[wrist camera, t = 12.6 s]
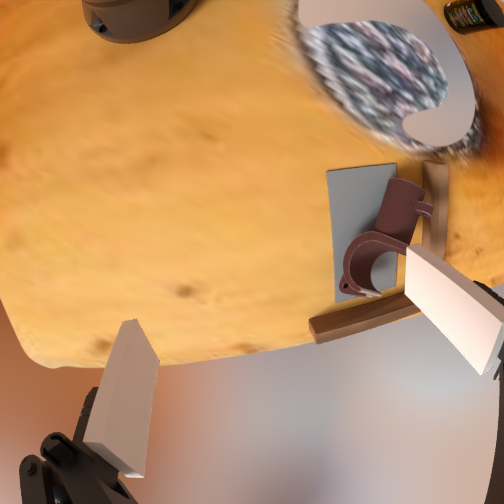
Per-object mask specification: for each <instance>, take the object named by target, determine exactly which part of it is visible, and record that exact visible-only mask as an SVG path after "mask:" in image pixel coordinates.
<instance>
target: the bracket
mask: <svg viewBox="0 0 504 504" xmlns="http://www.w3.org/2000/svg"><path fill="white" fill-rule="evenodd" d="M424 195H425V191H424V190H423V189H422V188H421V187H420V186H418V185H416V184H414V183H412V182H410V181H407V180H404V179H400V178H390V179H389V181H388V184H387V187H386V191H385V194H384V197H383V200H382V204H381V207H380V210H379V213H378V216H377V219H376V222H375V225H374V228H373V231H372V232H365V233H363V234H360V235H359V236H357V237H356V238H355V239H354V240H353V241H352V242H351V243H350V244H349V246H348V247H347V249H346V252H345V254H344V258H343V275H342V277H341V280H340V282H339V290H340V292H341V293H342V294H346V295H351V296H359V297H367V298H371V297H372V296H373V295H374V296H378V297H381V296H382V293H380V292H379V291H377V290H376V289H375V287H374V286H373V284H372V280H371V269H372V266H373V264H374V262H375V260H376V259H377V258H378V257H379V256H380V255H382V254H383V253H386V252H397V253H400V254H402V255H405V256H406V249H407V247H408V246H410V242H411V239H412V236H413V233H414V230H415V226H416V223H417V220H418V217H419V215H422V216H426V217H431V216H432V212H433V208H434V207H433V206H432V205H430V204H427V203H424V202H423V199H424Z"/></svg>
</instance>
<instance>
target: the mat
mask: <svg viewBox="0 0 504 504" xmlns="http://www.w3.org/2000/svg"><path fill="white" fill-rule="evenodd" d="M326 174H327V183H328V192H329V203H330V214H331V227H332V241H333V258H334V280H335V303H338V302H342V301H346V300H350V299H353V298H357V297H359V296H351V295H346V294H342V293H341V292H340V290H339V282H340V280H341V277H342V275H343V258H344V254H345V252H346V249H347V247H348V246H349V244H350V243H351V242H352V241H353V240H354V239H355V238H356V237H357V236H359V235H360V234H363V233H365V232H372V231H373V228H374V225H375V222H376V219H377V216H378V213H379V210H380V207H381V204H382V200H383V197H384V194H385V191H386V187H387V184H388V181H389V179H390V178H397V172H396V164H386V165H376V166H367V167H358V168H349V169H341V170H333V171H326ZM396 266H397V252H386V253H383V254H382V255H380V256H379V257H378V258H377V259H376V260H375V262H374V264H373V266H372V269H371V280H372V284H373V286H374V287H375V289H376V290H377V291H382V290H385V289H388V288H392V287H395V281H396Z"/></svg>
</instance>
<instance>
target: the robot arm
mask: <svg viewBox="0 0 504 504" xmlns="http://www.w3.org/2000/svg"><path fill="white" fill-rule="evenodd" d="M196 1H197V0H82V6H83V11H84V16H85V20H86V22H87V24H88V25H89V27H90V28H91V29H92V30H93V31H94V32H95V33H96V34H97V35H99V36H100V37H101V38H103V39H105V40H107V41H110V42H114V43H121V44H129V43H138V42H142V41H146V40H149V39H152V38H155V37H157V36H160V35H162V34H164V33H165V32H167V31H169V30H171V29H172V28H174V27H175V26H176V25H178V24H179V23H180V22H181V21H182V20H183V19H184V18H185V17H186V16H187V15H188V14H189V13H190V11H191V10H192V9H193V7H194V5H195V3H196ZM405 295H406V296H407V297H408V298H409V299H410V300H411V301H412V302H413V303H414V304H415V305H416V306H417V307H418V308H419V309H420V310H421V311H422V312H423V313H424V314H425V315H426V316H427V317H428V318H429V319H430V320H431V321H432V322H433V323H434V324H435V325H436V326H437V327H438V328H439V329H440V331H441V332H443V334H444V335H445V336H446V337H447V338H448V339H449V340H450V341H451V342H452V343H453V344H454V346H455V347H456V348H457V349H458V350H459V351H460V352H461V353H462V354H463V356H464V357H465V358H466V359H467V360H468V361H469V363H470V364H471V365H472V366H473V367H474V368H475V369H476V370H477V372H478V373H479V374H480V375H483V374H484V373H486V372H487V371H488V370H490V369H491V368H493V366H494V364H495V361H496V359H497V357H498V358H499V359H500V360H501V363H500V365H499V367H498V369H497V371H496V373H495V375H494V380H496V378H497V376H498V374H499V376H500V377H499V380H500V396H499V420H498V431H497V441H496V449H495V456H494V462H493V468H492V473H491V478H490V483H489V487H488V492H487V495H486V500H485V503H484V504H504V299H503V298H501V297H499V296H498V294H496V293H495V292H493V291H492V290H491V289H490V288H489V287H487V286H486V285H485V284H483V283H480V282H478V281H473V282H472V281H471V280H470V279H469V278H467V277H466V276H464V275H463V274H462V273H460V272H459V271H458V270H456V269H455V268H454V267H452V266H451V265H449V264H448V263H447V262H445V261H444V260H442V259H441V258H439V257H438V256H437V255H435V254H434V253H432V252H431V251H429V250H428V249H426V248H425V247H423V246H422V245H420V244H419V243H417V244H414V245H411V246H408V247H407V249H406V278H405ZM159 362H160V360H159V359H158V357H157V355H156V354H155V352H154V350H153V348H152V346H151V345H150V343H149V341H148V339H147V337H146V336H145V334H144V332H143V330H142V328H141V326H140V324H139V322H138V320H137V319H133V320H128V321H124V322H122V325H121V327H120V330H119V332H118V335H117V338H116V340H115V343H114V346H113V348H112V351H111V354H110V356H109V359H108V362H107V365H106V368H105V371H104V374H103V376H102V379H101V382H100V385H99V387H93V388H92V390H91V391H90V392H89V394H88V395H87V396H86V399H85V402H84V405H83V409H82V411H81V416H80V417H79V421H78V424H77V427H76V430H75V433H74V437H73V440H72V441H71V440H69V439H68V438H67V437H66V436H65V435H64V434H62V433H60V432H54V433H52V434H49V435H48V436H47V437H46V438H45V439H44V441H43V442H42V445H41V448H40V452H41V456H42V457H44V458H45V459H46V460H47V461H42V460H41V459H40V458H39V457H37V456H35V455H28V456H26V457H25V458H24V459H23V461H22V462H21V464H20V468H19V475H20V487H21V496H22V504H56V503H55V501H56V502H57V504H138V503H137V501H136V500H135V499H134V497H133V496H132V495H131V494H130V492H129V491H128V489H127V488H126V487H125V485H124V484H123V483H122V481H120V479H118V472H121V473H122V474H123V475H125V476H126V477H137V478H144V476H145V464H146V454H147V445H148V436H149V429H150V421H151V413H152V406H153V399H154V393H155V386H156V380H157V374H158V368H159Z"/></svg>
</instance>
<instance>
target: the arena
mask: <svg viewBox="0 0 504 504" xmlns="http://www.w3.org/2000/svg"><path fill="white" fill-rule="evenodd" d="M422 163H423V190H424V191H425V195H424V199H423V202H424V203H427V204H430V205H432V206H433V207H434V208H433V212H432V216H431V217H426V216H423V235H422V246H423V247H425V248H426V249H428V250H429V251H431V252H432V253H434V254H435V255H437V256H438V257H439V258H441V259H442V260H444V255H445V245H446V233H447V218H448V164H444V163H440V162H435V161H422ZM420 311H421V310H420V309H419V308H418V307H417V306H416V305H415V304H414V303H413V302H412V301H411V300H410V299H409V298H408V297H407V296H406V295H405V292H403V293H400V294H397V295H394V296H391V297H388V298H384V299H381V300H378V301H374V302H371V303H368V304H364V305H361V306H357V307H354V308H350V309H346V310H343V311H339V312H335V313H332V314H328V315H324V316H320V317H316V318H312V319H309V329H310V332H311V334H312V336H313V338H314V340H315V342H316V344H321V343H324V342H328V341H331V340H335V339H338V338H342V337H346V336H349V335H352V334H356V333H359V332H362V331H365V330H368V329H372V328H375V327H377V326H381V325H384V324H387V323H390V322H393V321H395V320H398V319H401V318H404V317H407V316H409V315H412V314H415V313H418V312H420Z"/></svg>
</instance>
